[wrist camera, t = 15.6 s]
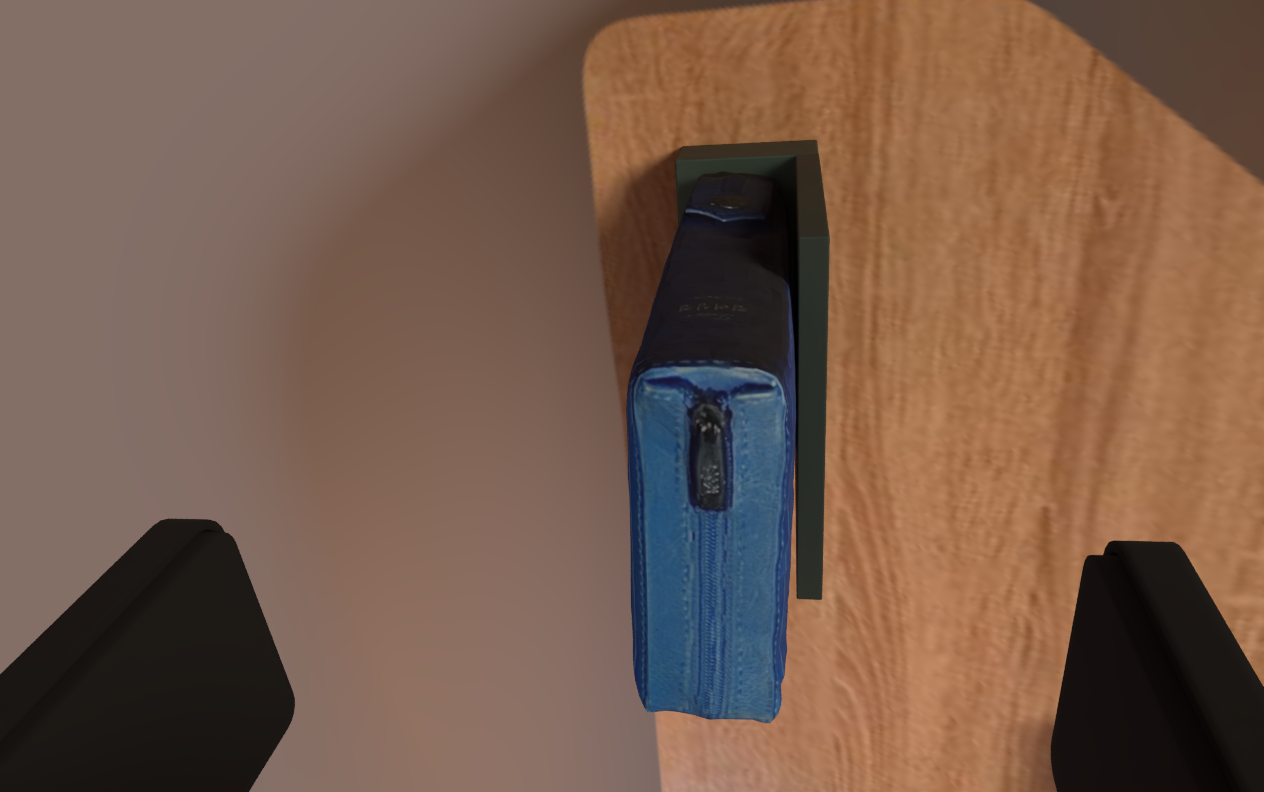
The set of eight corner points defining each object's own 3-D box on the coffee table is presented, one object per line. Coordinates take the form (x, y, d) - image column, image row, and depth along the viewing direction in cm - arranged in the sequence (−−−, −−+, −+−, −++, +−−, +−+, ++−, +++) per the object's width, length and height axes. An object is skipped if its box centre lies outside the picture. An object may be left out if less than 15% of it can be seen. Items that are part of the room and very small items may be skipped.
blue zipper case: (680, 164, 40) (597, 345, 23) (800, 164, 40) (807, 352, 22) (683, 438, 47) (620, 740, 30) (785, 443, 46) (783, 757, 29)
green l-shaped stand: (696, 418, 50) (663, 594, 37) (681, 146, 43) (634, 242, 30) (813, 419, 49) (822, 600, 36) (817, 139, 42) (829, 236, 29)
